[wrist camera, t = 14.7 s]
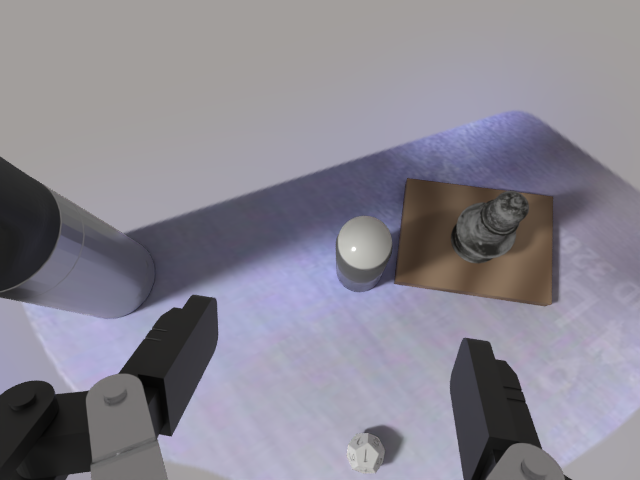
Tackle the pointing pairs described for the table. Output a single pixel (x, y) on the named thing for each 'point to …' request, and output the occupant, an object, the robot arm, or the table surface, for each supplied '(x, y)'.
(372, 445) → the game die
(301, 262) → the table surface
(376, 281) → the grey cylinder
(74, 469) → the robot arm
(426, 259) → the walnut board
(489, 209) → the grey chess piece
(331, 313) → the table surface
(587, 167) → the table surface
